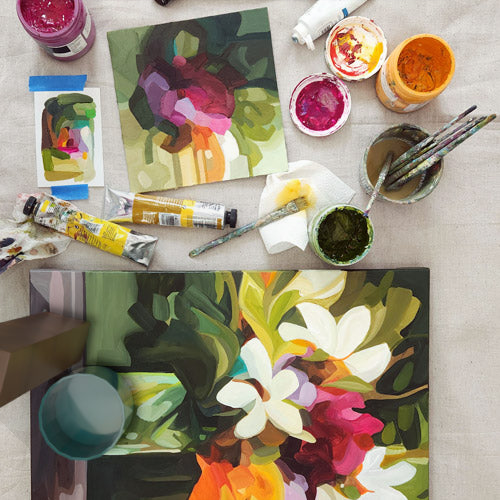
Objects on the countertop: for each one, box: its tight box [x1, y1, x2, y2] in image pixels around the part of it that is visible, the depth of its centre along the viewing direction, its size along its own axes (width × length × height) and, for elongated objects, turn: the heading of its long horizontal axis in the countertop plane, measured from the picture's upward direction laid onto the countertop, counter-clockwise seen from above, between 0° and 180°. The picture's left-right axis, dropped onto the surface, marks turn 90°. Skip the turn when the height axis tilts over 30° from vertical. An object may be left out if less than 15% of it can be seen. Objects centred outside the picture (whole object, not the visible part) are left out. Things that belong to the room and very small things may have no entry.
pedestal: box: [0, 310, 91, 409], centre depth 58 cm, size 7×6×23 cm
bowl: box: [37, 365, 135, 462], centre depth 66 cm, size 12×12×5 cm
